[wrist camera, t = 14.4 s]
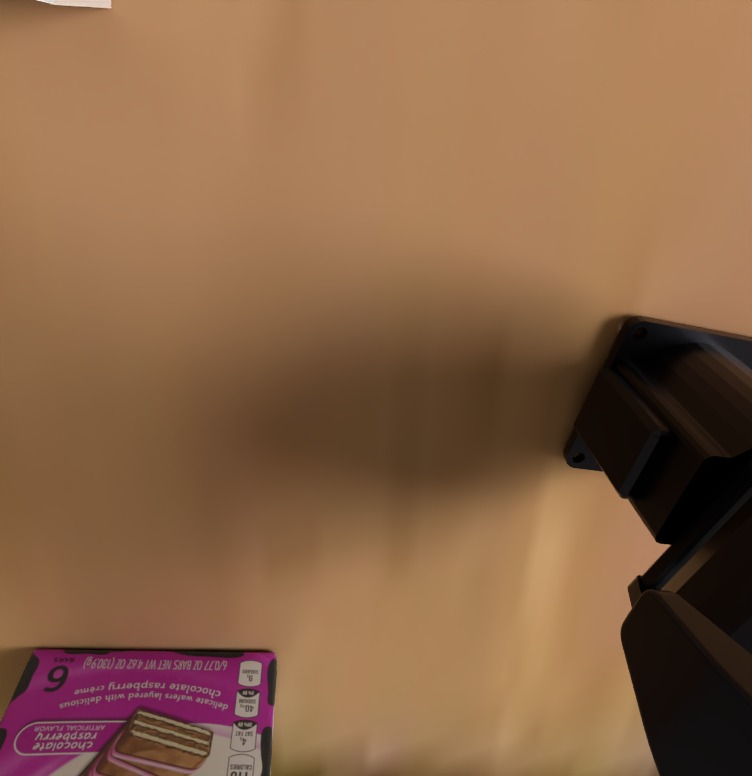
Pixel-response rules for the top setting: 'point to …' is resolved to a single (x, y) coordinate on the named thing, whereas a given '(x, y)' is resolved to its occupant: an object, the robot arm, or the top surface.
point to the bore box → (81, 3)
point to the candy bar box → (141, 714)
